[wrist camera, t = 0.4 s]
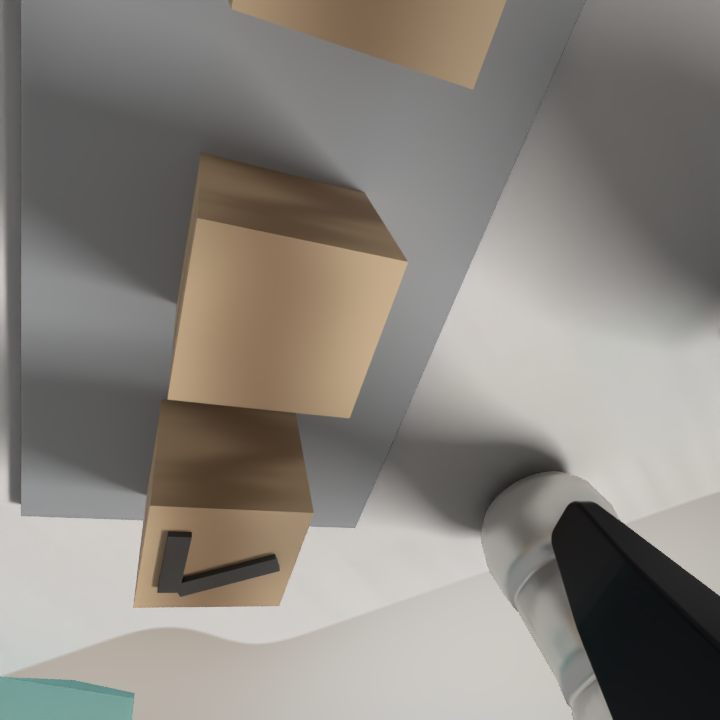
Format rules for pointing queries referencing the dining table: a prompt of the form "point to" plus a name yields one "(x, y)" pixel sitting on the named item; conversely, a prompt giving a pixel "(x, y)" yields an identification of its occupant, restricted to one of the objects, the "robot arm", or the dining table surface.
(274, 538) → the oak block marked 7
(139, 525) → the dining table surface
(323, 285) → the plain oak block
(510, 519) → the plastic bottle
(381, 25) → the oak block marked 1
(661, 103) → the dining table surface
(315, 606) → the dining table surface
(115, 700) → the tissue box
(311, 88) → the grey rubber mat
